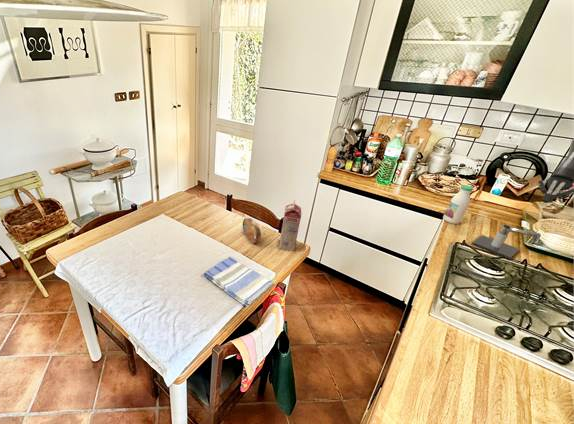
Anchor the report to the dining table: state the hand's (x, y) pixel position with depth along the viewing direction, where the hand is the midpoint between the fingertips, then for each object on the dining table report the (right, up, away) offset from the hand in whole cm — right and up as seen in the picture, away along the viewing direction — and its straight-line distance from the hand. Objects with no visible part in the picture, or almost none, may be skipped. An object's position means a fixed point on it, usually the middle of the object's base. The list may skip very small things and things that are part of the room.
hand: (545, 202), depth 139 cm
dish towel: (-143, -32, -19) cm, 148 cm away
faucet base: (-20, -21, +3) cm, 29 cm away
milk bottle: (-22, -9, +25) cm, 35 cm away
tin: (-133, -17, +8) cm, 135 cm away
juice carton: (-118, -20, +3) cm, 119 cm away
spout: (-15, -16, -2) cm, 22 cm away
